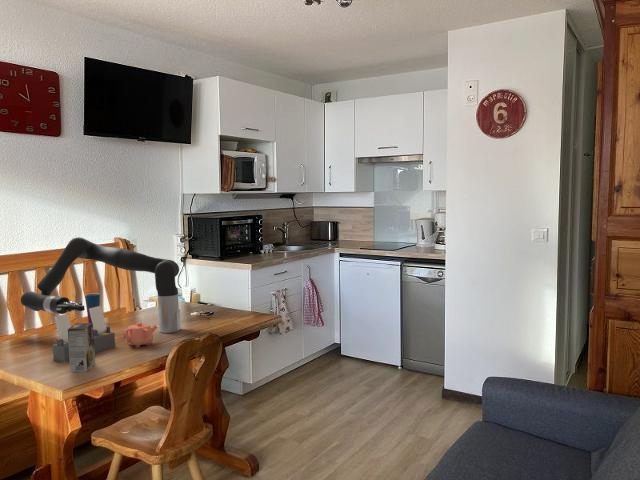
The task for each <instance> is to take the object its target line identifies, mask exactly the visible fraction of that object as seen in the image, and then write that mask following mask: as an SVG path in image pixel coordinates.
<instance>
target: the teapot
mask: <svg viewBox="0 0 640 480" xmlns="http://www.w3.org/2000/svg"><path fill="white" fill-rule="evenodd" d="M156 329H158V326H157V325H155V324H154V325H152V327H151V325H149V324H147V323H143V322H139V321H138V322H136V324H131V325H128V327H127V328H125V329H124V330H123V339H125V340H126V341H127V343H129V346H130V347H133V346H135V347H136V348H137V349H138V348H140V347H141V346H143V345H145V346H151V343H153V342H154V335H153V334H154V332H155V330H156Z"/></svg>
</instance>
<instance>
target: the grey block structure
mask: <svg viewBox="0 0 640 480" xmlns="http://www.w3.org/2000/svg"><path fill="white" fill-rule="evenodd" d="M106 328H107V331H106V332H103V333H100V334H98V330H94V328H93V334H94V350H95V354H96V353H99V352H101V351H105V350H108V349H111V348H114V347H116V336H115V335H116V334H115V332H114V331H111V326H108V325H106ZM55 340H56V343H54V344H52V358H53V361H58V362H63V363H66V362H70V358H69V342H68V343H65V344H63V339H59V338H56V339H55Z"/></svg>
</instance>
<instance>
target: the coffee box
mask: <svg viewBox="0 0 640 480" xmlns="http://www.w3.org/2000/svg"><path fill="white" fill-rule="evenodd" d="M93 329H94V328H93V323H88V322H77V323H76V322H75V323H74V325H71V327H70V328H69V329H68V341H69V358H70V361H69V370H70V371H69V372H70V373H83V372H89V371H90V369H91V368H93V367H94V366H95V364H96V353H95V350H94V334H93Z"/></svg>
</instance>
